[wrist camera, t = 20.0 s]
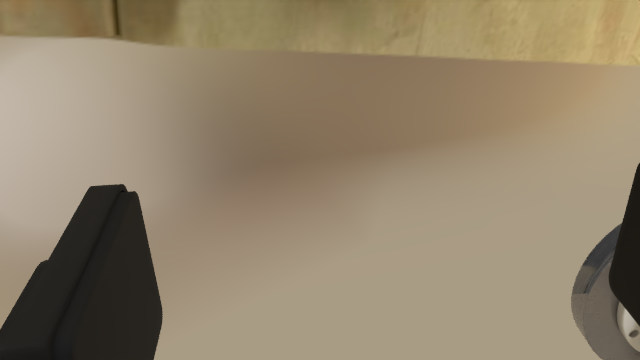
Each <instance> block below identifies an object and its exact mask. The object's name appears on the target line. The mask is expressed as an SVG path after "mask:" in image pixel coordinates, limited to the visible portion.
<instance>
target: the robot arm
mask: <svg viewBox="0 0 640 360" xmlns="http://www.w3.org/2000/svg"><path fill="white" fill-rule="evenodd" d="M609 285H610V288H611V290H612V292H613V294H614V295H615V296H616V297H617V299H618V300H619V304H618V310H617V323H618V326H619V329H620V331H621V333H622V335H623V336H624V337H625V339H626V340H627V342H628V343H629V344H630V345H631V346H632V347H633V348H634V349H635V350H637V351H639V352H640V163H639V165H638V167H637V170H636V173H635V177H634V181H633V185H632V189H631V192H630V196H629V200H628V204H627V207H626V211H625V215H624V218H623V222H622V226H621V230H620V233H619V237H618V241H617V245H616V248H615V252H614V256H613V260H612V263H611V267H610V271H609ZM161 325H162V305H161V301H160V296H159V291H158V286H157V282H156V277H155V272H154V267H153V263H152V258H151V253H150V248H149V244H148V239H147V234H146V229H145V225H144V220H143V216H142V211H141V206H140V201H139V197H138V194H137V193H136V192H135V191H133V192H128V191H127V189H126V187H125V186H124V185H123V184H120V185H103V186H91V187H90V188H89V189H88V191H87V192H86V194H85V196H84V198H83V199H82V201H81V203H80V205H79V206H78V208H77V210H76V212H75V213H74V215H73V217H72V219H71V221H70V222H69V224H68V226H67V228H66V229H65V231H64V233H63V235H62V236H61V238H60V240H59V242H58V244H57V246H56V247H55V249H54V251H53V253H52V254H51V256H50V258H49V260H45V261H43V262H41V263H40V264H39V265H38V266H37V268H36V269H35V271H34V273H33V275H32V276H31V278H30V280H29V282H28V283H27V285H26V287H25V288H24V290H23V292H22V293H21V295H20V297H19V299H18V300H17V302H16V304H15V306H14V307H13V309H12V310H11V312H10V314H9V316H8V317H7V319H6V321H5V322H4V324H3V326H2V328H1V329H0V360H153V359H154V355H155V351H156V347H157V343H158V339H159V334H160V330H161Z"/></svg>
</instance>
